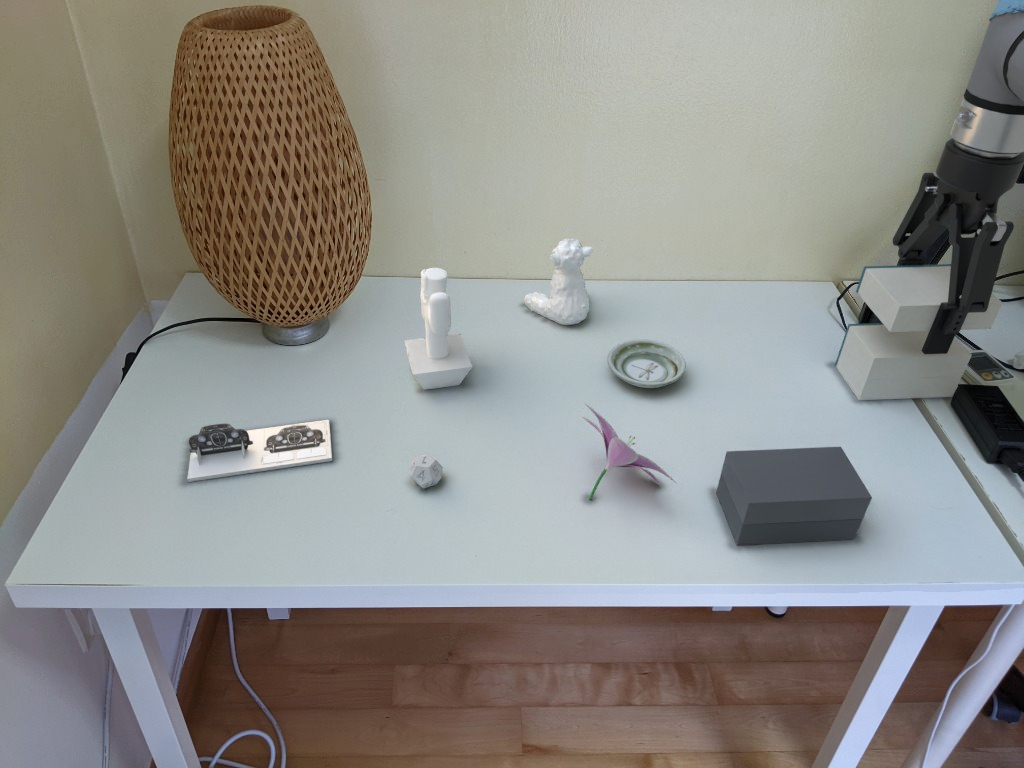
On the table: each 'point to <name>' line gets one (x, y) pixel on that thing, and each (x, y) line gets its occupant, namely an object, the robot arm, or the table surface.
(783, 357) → the table surface
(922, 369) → the white rectangular block
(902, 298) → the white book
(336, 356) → the table surface
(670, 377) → the saucer
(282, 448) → the car cutout
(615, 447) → the lily
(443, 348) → the figurine
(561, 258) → the sitting furry creature
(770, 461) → the grey box
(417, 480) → the game die
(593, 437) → the table surface
